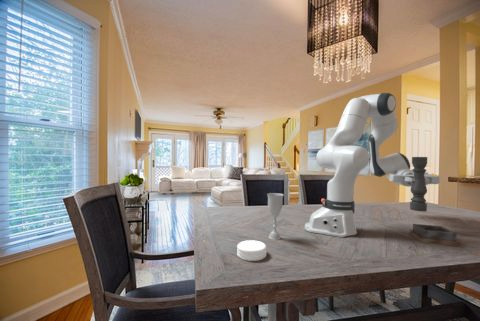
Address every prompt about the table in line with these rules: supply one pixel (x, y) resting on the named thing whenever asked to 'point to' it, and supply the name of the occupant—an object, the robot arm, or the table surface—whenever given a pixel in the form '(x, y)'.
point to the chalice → (275, 211)
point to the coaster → (251, 250)
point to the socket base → (434, 235)
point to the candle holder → (419, 185)
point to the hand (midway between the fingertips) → (419, 180)
